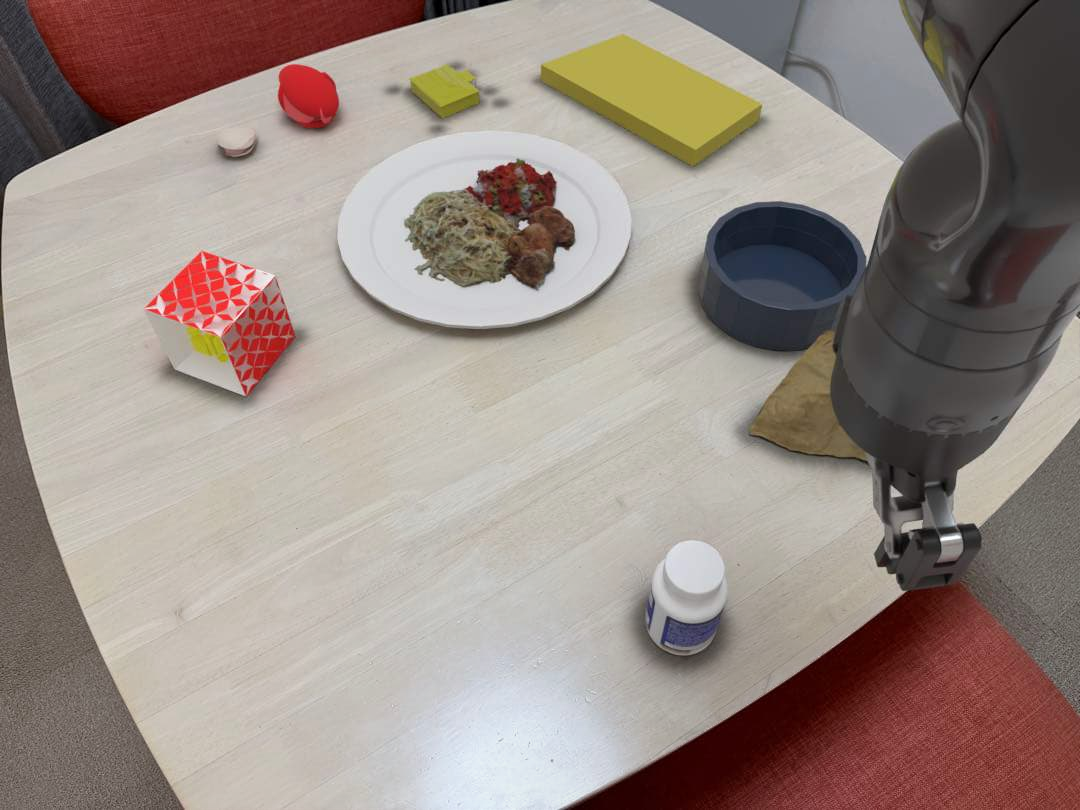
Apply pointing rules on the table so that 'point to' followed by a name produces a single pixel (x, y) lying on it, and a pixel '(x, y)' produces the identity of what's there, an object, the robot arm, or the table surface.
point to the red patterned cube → (222, 322)
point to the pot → (778, 274)
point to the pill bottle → (686, 598)
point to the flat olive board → (653, 96)
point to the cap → (307, 95)
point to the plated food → (484, 229)
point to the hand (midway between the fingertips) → (874, 486)
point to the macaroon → (236, 140)
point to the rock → (806, 407)
